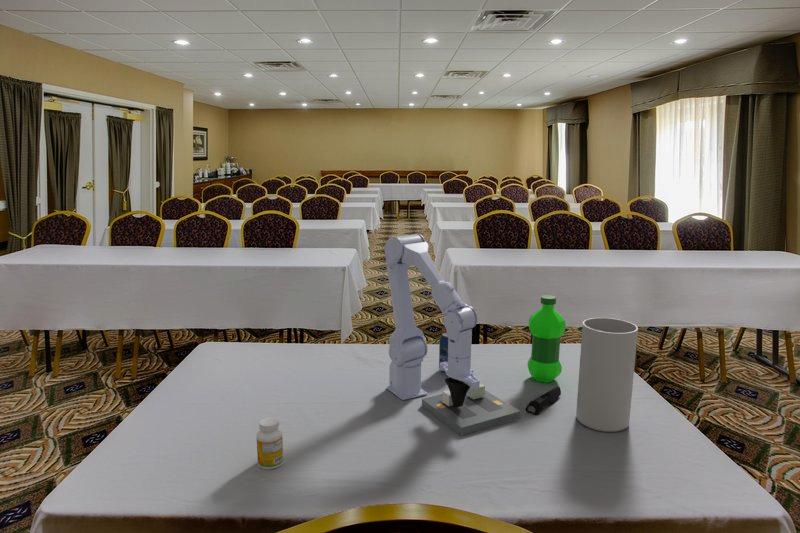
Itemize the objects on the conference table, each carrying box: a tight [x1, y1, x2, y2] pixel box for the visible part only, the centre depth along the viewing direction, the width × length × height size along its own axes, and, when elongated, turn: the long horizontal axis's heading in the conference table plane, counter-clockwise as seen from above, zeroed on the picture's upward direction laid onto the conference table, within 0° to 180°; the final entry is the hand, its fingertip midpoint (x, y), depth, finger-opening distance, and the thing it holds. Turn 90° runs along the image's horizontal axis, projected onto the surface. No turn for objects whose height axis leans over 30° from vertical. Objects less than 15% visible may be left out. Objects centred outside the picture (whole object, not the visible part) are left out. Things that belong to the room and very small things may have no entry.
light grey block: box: [441, 389, 453, 406], centre depth 146 cm, size 3×4×3 cm
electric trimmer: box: [524, 386, 562, 416], centre depth 151 cm, size 4×16×3 cm, turn 138°
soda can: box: [438, 330, 448, 375], centre depth 172 cm, size 7×7×12 cm
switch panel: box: [421, 389, 521, 436], centre depth 146 cm, size 18×18×2 cm
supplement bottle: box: [256, 417, 284, 470], centre depth 121 cm, size 5×5×10 cm
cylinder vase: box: [575, 317, 639, 433], centre depth 139 cm, size 12×12×25 cm
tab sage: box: [467, 382, 486, 399], centre depth 150 cm, size 3×4×3 cm
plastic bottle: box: [527, 294, 567, 383], centre depth 165 cm, size 10×10×25 cm
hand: (458, 405), depth 144 cm, fingers closed
